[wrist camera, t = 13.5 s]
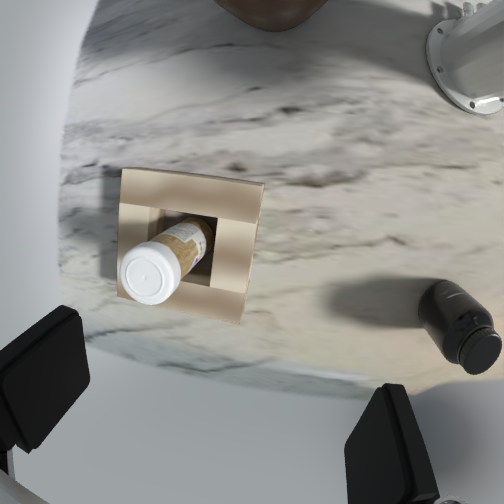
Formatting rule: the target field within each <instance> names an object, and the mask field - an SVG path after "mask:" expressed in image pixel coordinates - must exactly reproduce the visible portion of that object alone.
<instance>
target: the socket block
mask: <svg viewBox="0 0 504 504" xmlns="http://www.w3.org/2000/svg"><path fill="white" fill-rule="evenodd" d="M264 185H265V184H264V183H258V182H251V181H245V180H238V179H232V178H225V177H218V176H210V175H203V174H195V173H187V172H179V171H170V170H161V169H152V168H125V169H122V179H121V191H120V204H119V221H118V249H117V296H118V297H122V298H126V299H130V300H134V301H136V300H135V299H133V298H132V297H131V296H130V295H129V294H128V293H127V292H126V290H125V289H124V287H123V285H122V283H121V280H120V275H119V268H120V263H121V260H122V258H123V257H124V255H125V254H126V253H127V252H128V251H129V250H131V249H132V248H134V247H135V246H137V245H139V244H141V243H143V242H148V241H150V240H152V239H153V238H154V237H155V236H157V235H159V234H161V233H162V232H163V230H164V218H165V209H166V210H172V211H179V212H185V213H192V214H198V215H204V216H210V217H216V218H218V223H217V231H216V239H215V247H214V255H213V263H212V271H211V270H205V269H200V268H195V267H193V268H192V269H191V270H190V271H189V272H188V273H187V274H186V275H185V276H184V277H183V278H182V279H181V280H180V282H179V285H178V287H177V288H176V290H175V291H174V292H173V293H172V294H171V295H170V296H169V298H167V299H166V300H165V301H164V302H162V303H159V304H156V305H154V306H158V307H162V308H167V309H171V310H175V311H180V312H184V313H189V314H193V315H198V316H202V317H207V318H212V319H217V320H222V321H227V322H232V323H237V324H240V321H241V317H242V314H243V311H244V307H245V303H246V297H247V290H248V284H249V278H250V272H251V266H252V259H253V253H254V247H255V241H256V235H257V228H258V222H259V216H260V210H261V203H262V197H263V191H264Z"/></svg>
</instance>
